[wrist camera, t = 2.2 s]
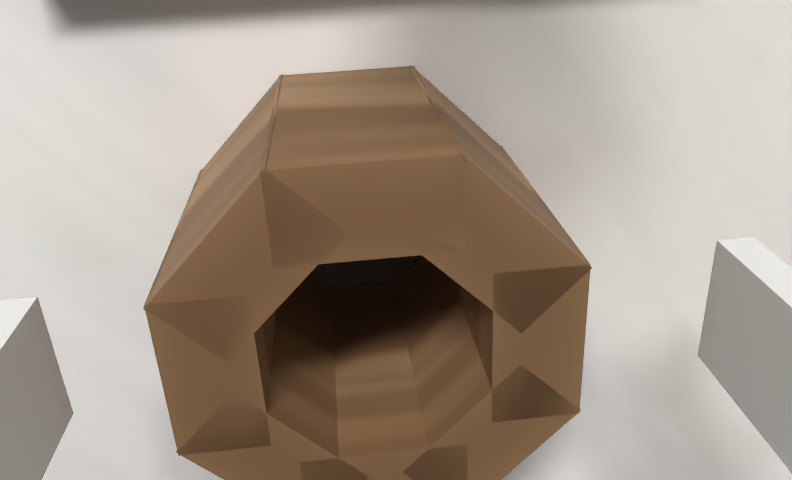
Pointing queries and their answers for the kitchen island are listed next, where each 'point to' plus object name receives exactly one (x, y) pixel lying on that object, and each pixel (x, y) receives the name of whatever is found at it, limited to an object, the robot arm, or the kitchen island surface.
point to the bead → (366, 294)
